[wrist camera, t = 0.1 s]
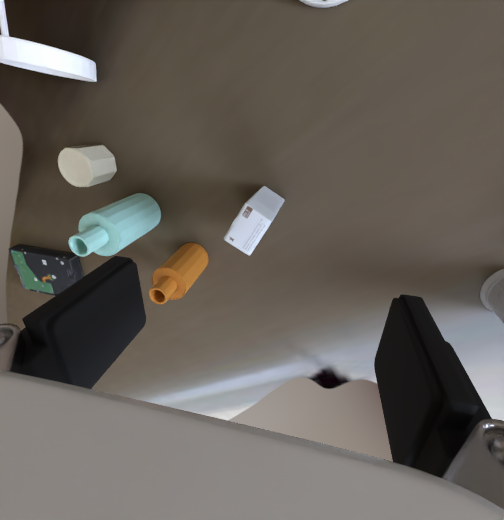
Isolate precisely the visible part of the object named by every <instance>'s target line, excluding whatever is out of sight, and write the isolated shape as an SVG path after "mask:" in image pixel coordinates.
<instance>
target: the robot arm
mask: <svg viewBox="0 0 504 520" xmlns="http://www.w3.org/2000/svg"><path fill="white" fill-rule="evenodd" d="M299 1H301V2H303V3H305V4H306V5H310V6H313V7H321V8H327V7H332V6H337V5H339V4H341V3H344V2H346V1H348V0H326V1H323V0H299ZM23 322H24V324H25V327H26V328H24V329H23V330H22V331H20V328H19V327H18V326H17V325H14V324H0V520H504V421H502V420H496V419H492V418H491V416H490V415H489V413H488V411H487V409H486V407H485V406H484V404H483V402H482V400H481V398H480V396H479V395H478V393H477V391H476V389H475V387H474V386H473V384H472V382H471V380H470V378H469V376H468V375H467V373H466V371H465V369H464V367H463V366H462V364H461V362H460V360H459V358H458V356H457V355H456V353H455V351H454V349H453V347H452V346H451V345H450V343H448V342H445V340H444V338H443V337H442V335H441V333H440V331H439V329H438V327H437V325H436V323H435V322H434V320H433V318H432V316H431V314H430V312H429V310H428V308H427V306H426V305H425V303H424V301H423V299H422V298H421V297H418V296H410V295H403V294H402V295H400V297H399V298H394V299H393V300H392V303H391V307H390V310H389V313H388V317H387V320H386V323H385V327H384V330H383V333H382V337H381V340H380V343H379V347H378V350H377V354H376V357H375V364H374V366H375V373H376V378H377V383H378V388H379V393H380V398H381V403H382V408H383V413H384V418H385V423H386V428H387V433H388V438H389V444H390V449H391V454H392V459H393V462H391V461H388V460H385V459H380V458H377V457H373V456H369V455H365V454H361V453H357V452H354V451H349V450H345V449H342V448H338V447H334V446H330V445H326V444H322V443H318V442H314V441H310V440H306V439H302V438H298V437H293V436H289V435H285V434H281V433H276V432H272V431H268V430H264V429H260V428H256V427H251V426H247V425H243V424H238V423H235V422H231V421H226V420H222V419H218V418H214V417H209V416H205V415H201V414H196V413H192V412H188V411H184V410H179V409H175V408H171V407H166V406H162V405H158V404H153V403H149V402H145V401H140V400H136V399H132V398H127V397H123V396H119V395H114V394H110V393H105V392H101V391H97V390H92V389H91V388H92V387H93V386H94V385H95V383H96V382H97V381H98V380H99V379H100V377H101V376H102V375H103V374H104V373H105V372H106V370H107V369H108V368H109V367H110V366H111V365H112V363H113V362H114V361H115V360H116V359H117V357H118V356H119V355H120V354H121V353H122V352H123V350H124V349H125V348H126V347H127V346H128V345H129V343H130V342H131V341H132V340H133V339H134V337H135V336H136V335H137V334H138V333H139V332H140V330H141V329H142V328H143V327H144V325H145V322H146V315H145V310H144V304H143V298H142V293H141V287H140V281H139V276H138V270H137V265H136V263H134V262H133V260H132V259H131V258H127V257H119V256H115V257H113V258H111V259H110V260H108V261H107V262H105V263H104V264H102V265H101V266H99V267H98V268H96V269H95V270H94V271H92V272H91V273H89V274H88V275H86V276H85V277H83V278H82V279H80V280H79V281H77V282H76V283H74V284H73V285H71V286H70V287H68V288H67V289H65V290H64V291H62V292H61V293H60V294H58V295H57V296H55V297H54V298H52V299H51V300H49V301H48V302H46V303H45V304H43V305H42V306H40V307H39V308H37V309H36V310H34V311H33V312H31V313H30V314H28V315H27V316H26V317H24V318H23Z"/></svg>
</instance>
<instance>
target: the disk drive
mask: <svg viewBox="0 0 504 520" xmlns="http://www.w3.org/2000/svg"><path fill="white" fill-rule="evenodd" d="M9 252H10V255H11V258H12V261H13V263H14V267H15V269H16V270H17V272H18V275H19V277H20V280H21V282H22V284H23V285H21V286H22V287H25V288H26V289H29V290H30V291H36V292H40V293H45V294H50V295H55V296H57V295H58V294H60V293H61V292H62V291H64V290H65V289H67V288H68V287H70V286H71V285H73V284H74V283H76V282H77V281H79V280H80V279H82V278H83V275H82V270H81V266H80V262H79V259H78V256H77V255H75V254H70V253H64V252H59V251H53V250H46V249H42V248H37V247H31V246H26V245H16V246H14V247H12V248H9Z"/></svg>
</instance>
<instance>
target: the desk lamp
mask: <svg viewBox="0 0 504 520" xmlns="http://www.w3.org/2000/svg"><path fill="white" fill-rule="evenodd" d="M0 28H1V35H0V63H4V64H8V65H12V66H16V67H20V68H24V69H28V70H33V71H37V72H42V73H47V74H51V75H56V76H61V77H66V78H72V79H77V80H84V81H91V82H96V81H97V79H96V64H95V62H93V61H92V60H90V59H88V58H85V57H83V56H80V55H77V54H74V53H71V52H68V51H64V50H61V49H58V48H54V47H50V46H47V45H43V44H39V43H35V42H31V41H26V40H22V39H18V38H13V37H9V33H8V26H7V19H6V11H5V4H4V0H0Z"/></svg>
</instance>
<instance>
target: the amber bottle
mask: <svg viewBox="0 0 504 520" xmlns="http://www.w3.org/2000/svg"><path fill="white" fill-rule="evenodd" d="M207 264H208V255H207V252H206V251H205V249H204V248H203V247H202V246H200V245H198V244H196V243H186V244H184V245H183V246H182V247H181V248H180V249H178V250H177V251H176V252H175V253H174V254H173V255H172V256H171V257H170V258H169V259H168V260H167V261H166V262H164V263H163V264H162V265H161V266H160V267H159V268H158V269H157V270H156V271H155V272H154V273H153V276H152V284H153V287H152V288H151V289H150V291H149V297H150V298H151V300H152V301H153V302H155V303H157V304H163V303H165V302H166V301H167V300H168V299H173V300H175V299H180V298H181V297H182V296H184V295H185V293H186V292H187V291H188V289H189V288H190V287H191V286H192V284H193V283H194V282H195V280H196V279H197V278H198V277H199V275H200V274H201V273H202V271H203V270H204V269H205V268H206V266H207Z"/></svg>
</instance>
